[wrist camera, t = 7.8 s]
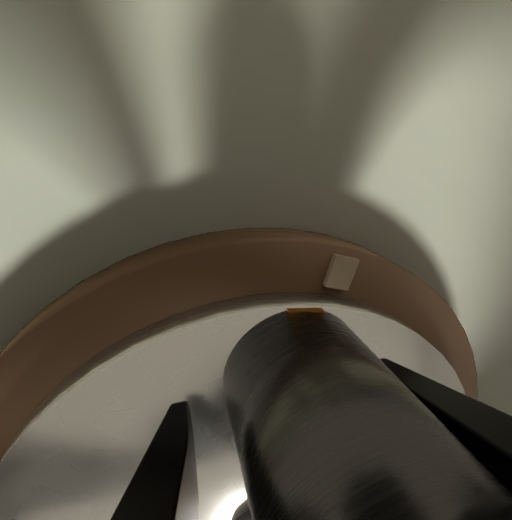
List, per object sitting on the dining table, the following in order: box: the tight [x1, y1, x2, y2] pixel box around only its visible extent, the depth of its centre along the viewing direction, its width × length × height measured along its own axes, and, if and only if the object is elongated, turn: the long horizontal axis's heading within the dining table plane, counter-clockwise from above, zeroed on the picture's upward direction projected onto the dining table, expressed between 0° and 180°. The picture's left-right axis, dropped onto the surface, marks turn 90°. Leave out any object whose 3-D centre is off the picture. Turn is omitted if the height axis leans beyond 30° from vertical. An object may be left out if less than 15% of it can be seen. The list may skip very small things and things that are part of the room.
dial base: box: [0, 228, 477, 461], centre depth 13 cm, size 20×20×2 cm
